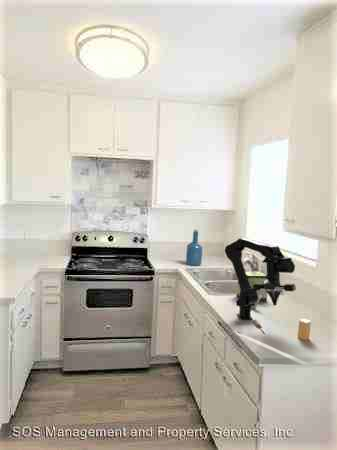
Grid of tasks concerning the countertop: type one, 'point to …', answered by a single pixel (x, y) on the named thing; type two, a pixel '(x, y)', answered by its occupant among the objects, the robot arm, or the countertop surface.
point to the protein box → (253, 279)
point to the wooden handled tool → (257, 325)
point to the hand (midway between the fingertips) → (274, 305)
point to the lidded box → (304, 329)
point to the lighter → (257, 302)
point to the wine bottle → (194, 251)
